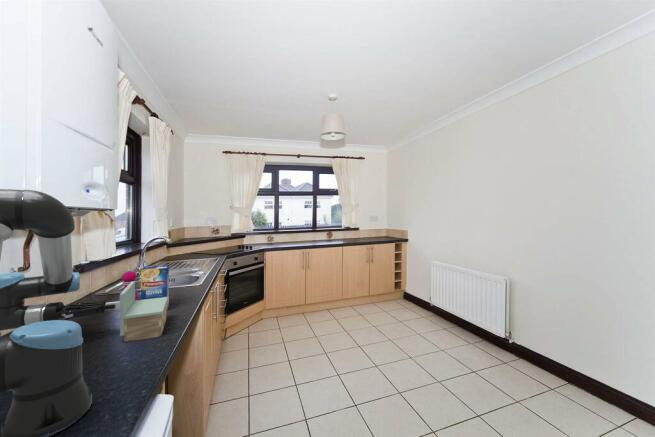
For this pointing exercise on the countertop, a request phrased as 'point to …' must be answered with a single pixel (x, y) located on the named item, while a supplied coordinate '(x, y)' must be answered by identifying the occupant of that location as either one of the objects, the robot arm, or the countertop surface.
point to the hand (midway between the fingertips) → (125, 304)
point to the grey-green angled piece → (138, 306)
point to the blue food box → (155, 282)
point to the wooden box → (144, 327)
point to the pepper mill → (129, 280)
